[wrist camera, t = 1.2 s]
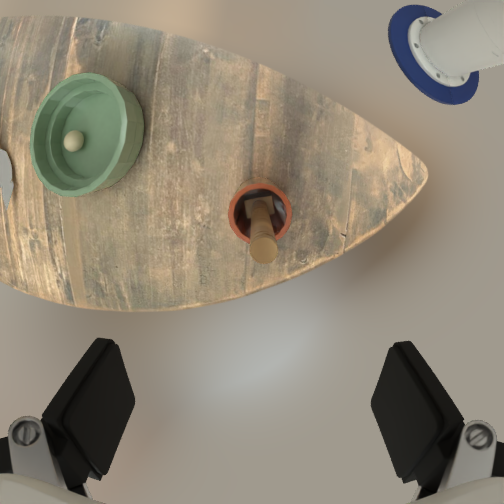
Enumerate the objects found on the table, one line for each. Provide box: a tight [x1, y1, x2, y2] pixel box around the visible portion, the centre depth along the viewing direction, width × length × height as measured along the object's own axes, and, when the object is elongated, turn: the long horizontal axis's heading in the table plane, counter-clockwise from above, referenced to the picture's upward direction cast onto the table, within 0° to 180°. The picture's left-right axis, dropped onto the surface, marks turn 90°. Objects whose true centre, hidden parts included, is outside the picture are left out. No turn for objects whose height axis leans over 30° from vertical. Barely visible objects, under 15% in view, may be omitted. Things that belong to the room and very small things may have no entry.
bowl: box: [30, 72, 144, 197], centre depth 30 cm, size 16×16×6 cm
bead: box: [64, 130, 84, 152], centre depth 31 cm, size 3×3×3 cm
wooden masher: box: [244, 191, 278, 264], centre depth 26 cm, size 3×2×20 cm, turn 101°
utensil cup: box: [228, 177, 292, 244], centre depth 31 cm, size 6×6×10 cm
